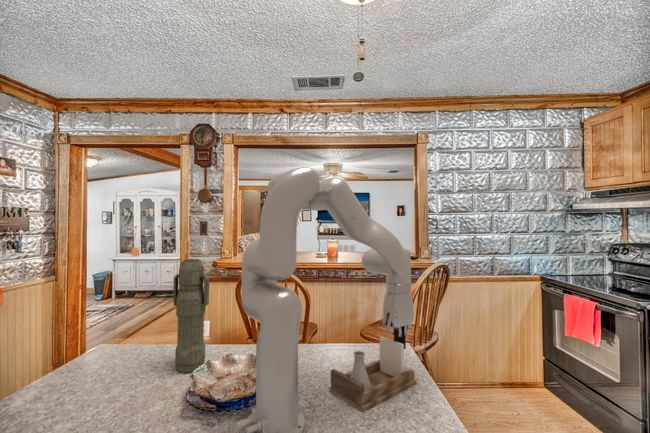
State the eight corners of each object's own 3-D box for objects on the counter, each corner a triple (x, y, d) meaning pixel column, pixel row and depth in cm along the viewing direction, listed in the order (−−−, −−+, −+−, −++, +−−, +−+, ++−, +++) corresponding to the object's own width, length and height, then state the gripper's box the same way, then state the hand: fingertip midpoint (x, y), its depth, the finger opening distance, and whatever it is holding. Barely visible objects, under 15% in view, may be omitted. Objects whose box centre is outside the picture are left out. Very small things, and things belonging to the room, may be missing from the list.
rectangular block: (401, 380, 89) (401, 345, 90) (379, 370, 96) (379, 337, 96) (404, 379, 90) (403, 344, 91) (382, 369, 96) (381, 336, 97)
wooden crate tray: (363, 412, 76) (363, 387, 76) (329, 391, 86) (328, 369, 86) (416, 383, 90) (416, 362, 90) (381, 368, 100) (381, 349, 100)
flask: (372, 398, 80) (371, 359, 81) (344, 396, 82) (344, 357, 82) (373, 385, 87) (373, 348, 88) (348, 382, 89) (347, 347, 89)
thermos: (203, 374, 97) (204, 261, 99) (165, 374, 97) (167, 261, 99) (213, 362, 106) (214, 258, 107) (179, 362, 106) (180, 258, 108)
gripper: (403, 284, 104) (404, 339, 103) (373, 289, 95) (374, 350, 94) (423, 287, 98) (424, 346, 98) (393, 293, 89) (394, 358, 88)
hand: (399, 348), depth 96 cm, fingers closed
